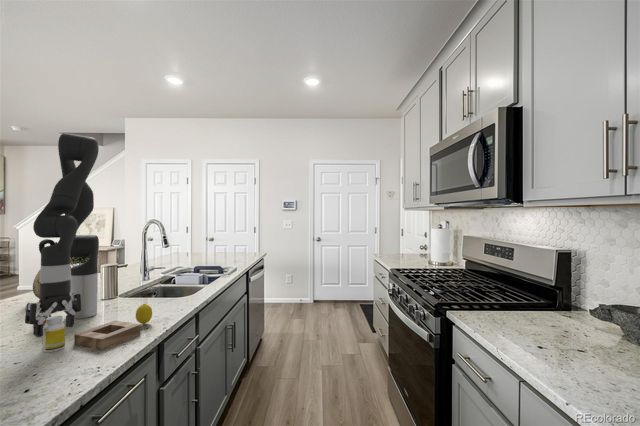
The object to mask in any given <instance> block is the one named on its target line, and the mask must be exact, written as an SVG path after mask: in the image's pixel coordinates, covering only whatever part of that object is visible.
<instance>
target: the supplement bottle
mask: <svg viewBox="0 0 640 426" xmlns="http://www.w3.org/2000/svg"><path fill="white" fill-rule="evenodd" d="M63 317H64V316H63V315H53V316H52V315H51V317H49V316H48V318H46V324H47V325H46V326H44V327H43V336H42V337H41V338H42V344H41V350H42V352H44V353H54V352H58V351H60V350H63V349H64V348H65V346H66V323H65V322H63V320H64V319H63Z"/></svg>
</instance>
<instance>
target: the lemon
mask: <svg viewBox="0 0 640 426" xmlns="http://www.w3.org/2000/svg"><path fill="white" fill-rule="evenodd" d="M152 317H153V309H152V307H151V306H150V305H149V304H146V303H142V305H139V306H138V307H137V309H136V311H135V319H136V321H137V322H138V324H142V325H144V326H145V325H146V323H148V322H150V321H151V319H152Z"/></svg>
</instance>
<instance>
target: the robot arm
mask: <svg viewBox="0 0 640 426" xmlns="http://www.w3.org/2000/svg"><path fill="white" fill-rule="evenodd" d="M57 141H58V142H57V144H58V145H57V150H58V158H59V163H60V169H61V174H62V177H61V179H59V180H58V181H57V182H56V184H55V185H54V187H53V189H52V190H53V191H52V193H51V196H50V199H49V202H48V203H47V204H46V205H45V207H44V208H43V209H42V210H41V211H40V212H39V214H38V215H37V217H35V220H34V223H33V231H34V234H35V235H36V236H37V237H39V238H43V239H54V238H56V239H57V238H58V239H59V240H58V241H57V244H56V245H51V246H50V245H45V247H44V248H42V250H41V253H40V268H39V270H40V277H39V296H40V299H39V301H38V302H27V304H26V306H25V318H24V323H25V324H27V325H32V327H33V328H32V329H33V331H32V332H33V333H32V334H33V336H34V337H36V338H43V324H42V322H43V321H44V320H45V318H46V317H48V318H49V314H50V313H51V314H55V313H57V312H64V313H65V314H66V315H65V328H68V329H69V328H70V329H71V328H73V326H74V325H75V320H76V319H77V320H79V319H85V318H90V317H93V316H96V315H97V314H98V287H99V286H98V280H99V279H98V277H99V274H98V273H99V271H98V269H99V267H98V265H99V264H98V263H99V262H98V261H99V251H100V249H99V247H100V242H99V241H100V239H99V236H98V235H96V234H77V233H78V230H79V228H80V226H81V225H82V224H83V223H84V222H85V220H86V219H87V218H88V217H89V216H90V215H91V214H92V213H93V210H94V206H95V204H94V203H95V202H94V201H95V197H94V191H93V189H92V188H91V186H90V185H89V184H88V183H87V182H86V181H87V179H88V177H89V176H90V173H91V171H92V170H93V167H94V165H95V164H96V161H97V159H98V155H99V142H98V140H97V139H96V138H94V137H91V136H86V135H79V134H73V133H67V132H66V133H65V132H64V133H61V134H60V136H59V138H58V140H57ZM75 162H80V163H79V164H78V165H77V166H76V164H75ZM71 258H88V260H86V261H84V262H83V263H81V264H78V265H75V266H72V267H71ZM39 307H40V308H41V309H40V310H39ZM44 312H45V313H44Z"/></svg>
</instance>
